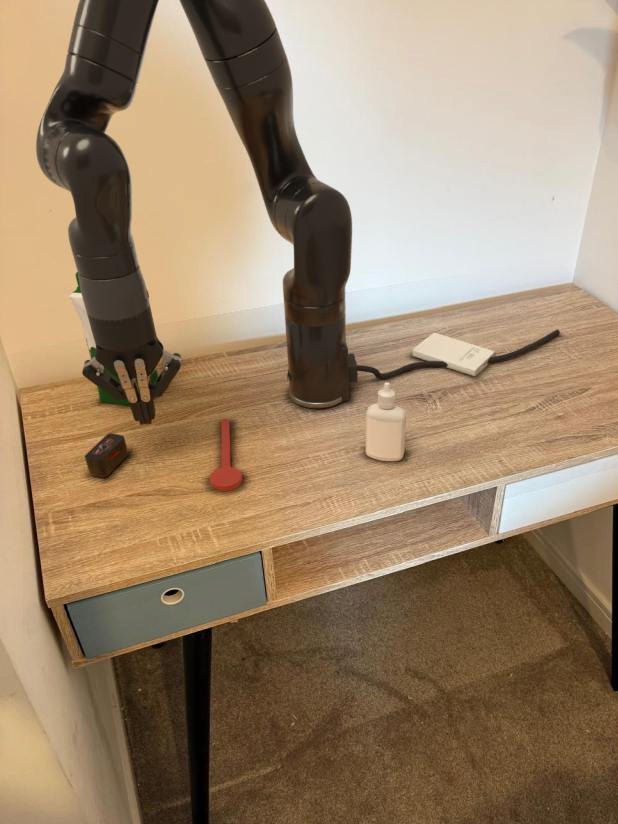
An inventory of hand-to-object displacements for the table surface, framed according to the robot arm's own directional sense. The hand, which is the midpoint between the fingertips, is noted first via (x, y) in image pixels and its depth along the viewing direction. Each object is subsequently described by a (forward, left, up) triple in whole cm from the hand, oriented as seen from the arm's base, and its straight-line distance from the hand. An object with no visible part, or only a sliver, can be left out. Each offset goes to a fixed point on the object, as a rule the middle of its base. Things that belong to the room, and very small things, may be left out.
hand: (146, 420), depth 102 cm
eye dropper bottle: (-33, +3, -7) cm, 34 cm away
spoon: (-10, +1, -7) cm, 12 cm away
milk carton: (+5, -19, -7) cm, 21 cm away
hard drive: (-50, -24, -7) cm, 56 cm away
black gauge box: (+7, -1, -7) cm, 10 cm away
